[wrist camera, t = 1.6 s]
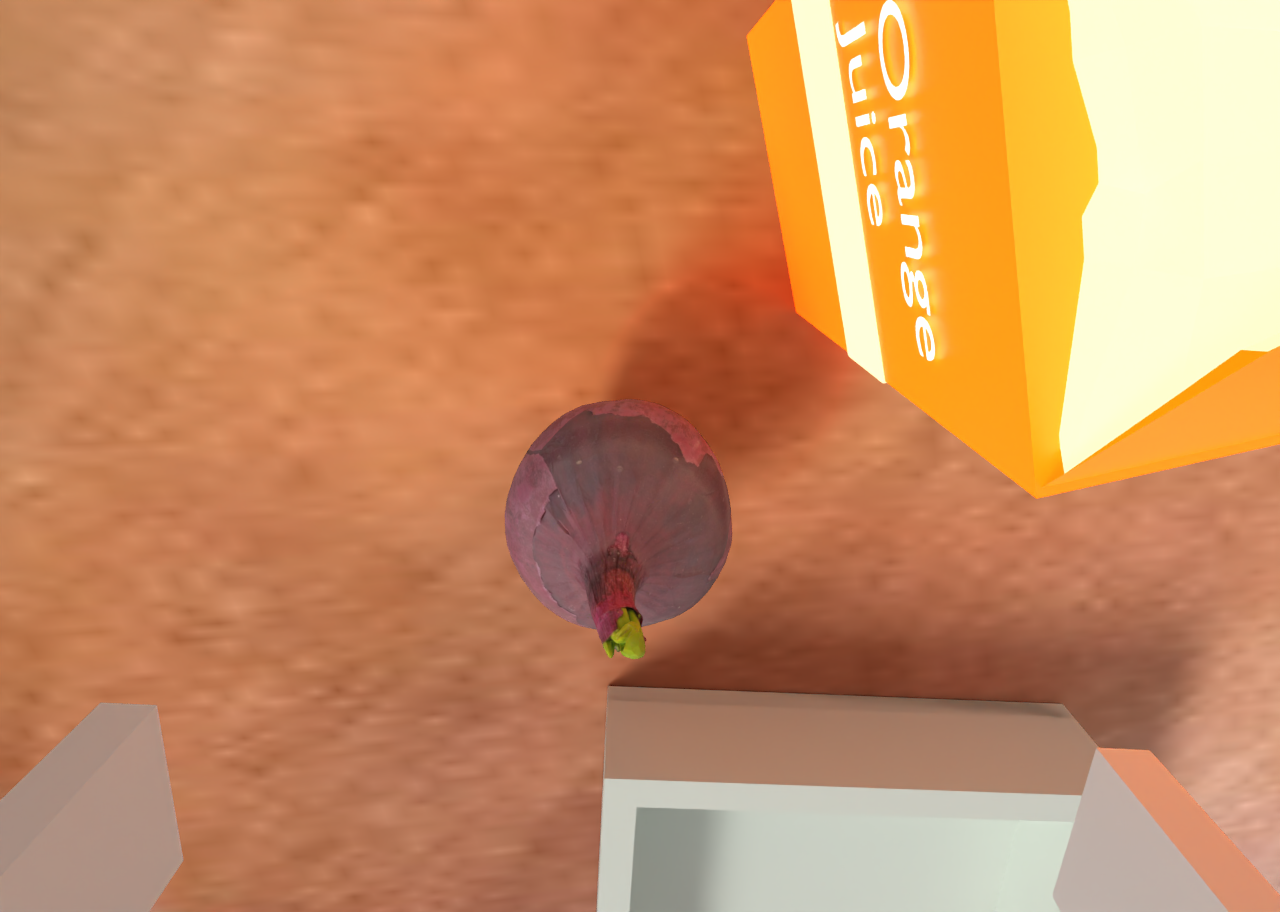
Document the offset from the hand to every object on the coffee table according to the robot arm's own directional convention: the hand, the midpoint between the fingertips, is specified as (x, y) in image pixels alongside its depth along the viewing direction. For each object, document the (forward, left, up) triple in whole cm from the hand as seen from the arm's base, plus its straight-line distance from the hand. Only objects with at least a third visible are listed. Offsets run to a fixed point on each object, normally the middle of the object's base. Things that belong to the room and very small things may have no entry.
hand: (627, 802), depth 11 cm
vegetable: (0, 0, -15) cm, 15 cm away
